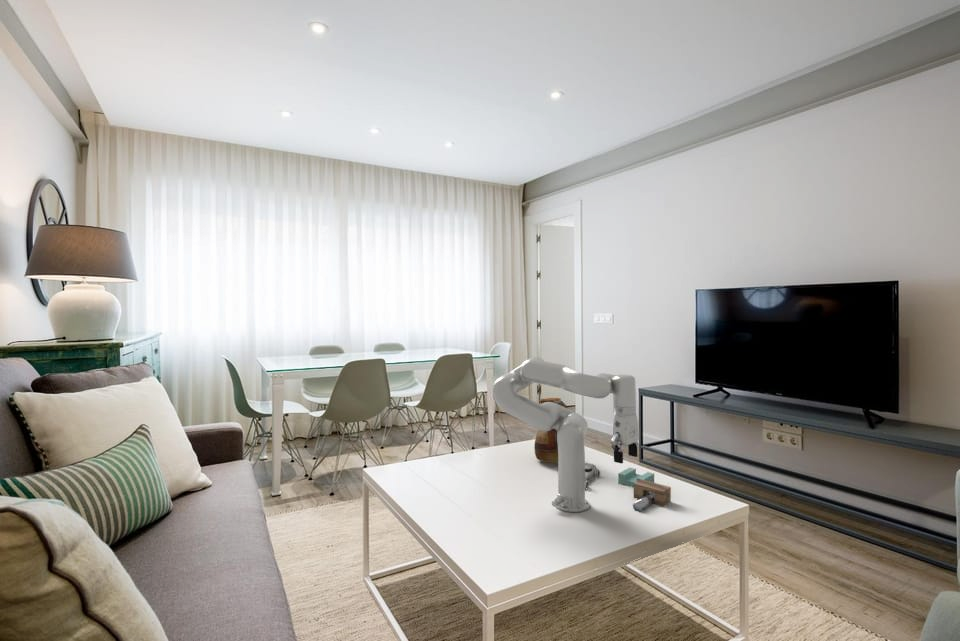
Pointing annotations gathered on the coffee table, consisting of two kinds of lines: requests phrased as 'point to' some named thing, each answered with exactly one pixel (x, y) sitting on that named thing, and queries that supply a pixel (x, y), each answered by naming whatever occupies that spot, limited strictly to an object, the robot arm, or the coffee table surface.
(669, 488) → the wooden bridge block
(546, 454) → the ceramic pitcher
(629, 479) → the v block
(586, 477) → the car model
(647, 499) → the axle
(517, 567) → the coffee table surface
